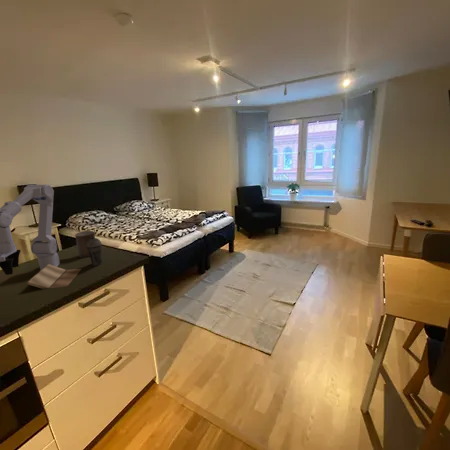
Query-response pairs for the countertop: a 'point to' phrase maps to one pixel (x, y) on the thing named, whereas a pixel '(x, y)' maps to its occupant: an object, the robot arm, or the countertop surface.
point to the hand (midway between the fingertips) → (12, 270)
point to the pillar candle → (83, 243)
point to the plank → (46, 276)
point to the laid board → (66, 278)
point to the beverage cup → (95, 250)
